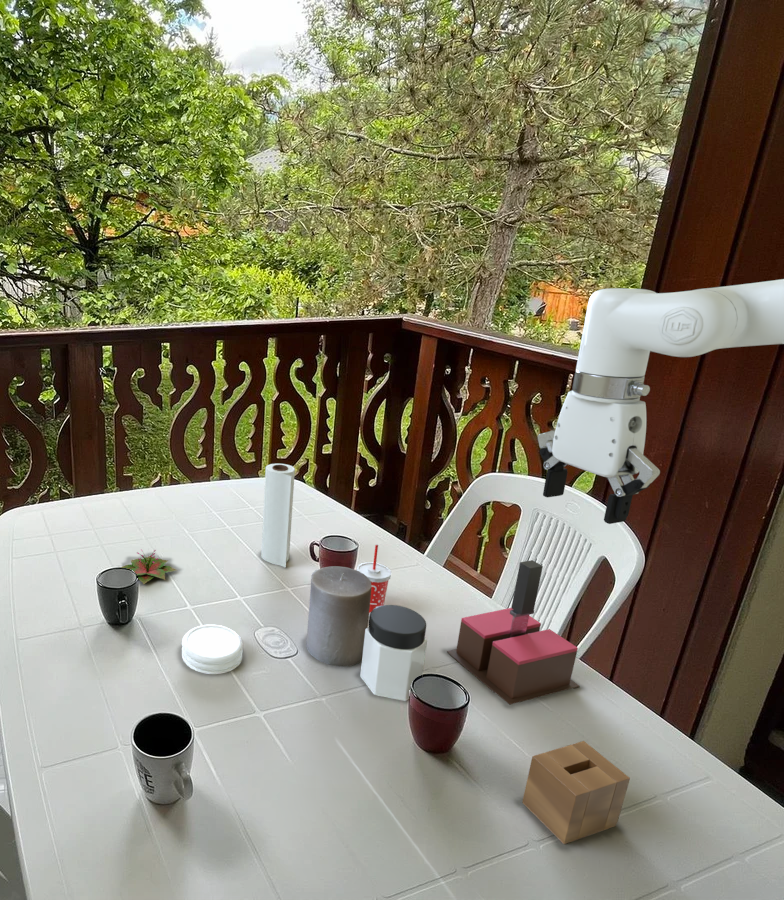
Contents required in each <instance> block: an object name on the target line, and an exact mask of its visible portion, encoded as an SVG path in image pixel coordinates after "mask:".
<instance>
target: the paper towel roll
mask: <svg viewBox="0 0 784 900" xmlns="http://www.w3.org/2000/svg"><path fill="white" fill-rule="evenodd" d="M295 469H296V468H295V467H294V466H293V465H290V464H286V463H270V464H267V465H266V466H265V471H264V472H265V476H264V495H263V511H262V512H263V513H262V532H261V534H262V535H261V551H260V552H261V553H260V554H261V556H260V557H261V559H262V560H263V561H265V562H267V563H270V564H271V565H272V564H273V565H276V566H280V567H283V568H287V562H288V561H289V560H290V548H291V536H292V535H291V534H292V518H293V504H294V488H295V473H296V470H295Z"/></svg>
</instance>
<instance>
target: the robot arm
mask: <svg viewBox="0 0 784 900" xmlns="http://www.w3.org/2000/svg"><path fill="white" fill-rule="evenodd" d="M583 324H584V325H583V329H582V334H581V339H580V346H579V350H578V356H577V360H576V361H577V362H576V366H575V371H574V372H575V373H574V377H573V382H572V389H571V390H570V391H568V392H567V395H566V397H565V399H564V402H563V404H562V407H561V409H560V413H559V416H558V419H557V422H556V425H555V429H553V430H550V431H546V432H542V433H538V435H537V442H538V446H539V448H540V449H539V455H540V457H541V458H542V460H543V469H544V470H546V475H545V480H544V487H543V492H542V496H543V497H545V498H553V497H561V496H563V495H564V493H565V487H566V483H567V478H568V472H569V471H568V469H567V468H566V466H572V467H575V468H577V469H581V470H583V471H586V472H588V473H592V474H594V475H597V476H600V477H604V478H606V479H607V480H608V482H609V484H610V486H611V488H612V491H613V493H610V494H608V497H607V502H606V507H605V511H604V517H603V521H604V523H605V524H608V525H611V524H617V523H623V522H624V523H625V522H626V521H627V518H628V517H629V514H630V510H631V505H632V500H633V497H634V496H635V495H639V493H640V492H641V491H644V490H647V489H648V488H649V487H650V485H651V484H652V483H653V482H654V481H655V480H656V479H657V478H658V477H659V476H660V474H661V470H660V469H659V468H658V467H657V466H656V465H655V464H654V463H653V462H652V461H651V460H650V459H649V458H647V456H646V455H644V452H645V451H644V450H645V446H646V445H645V444H646V436H647V434H646V433H647V406H646V405H647V404H646V402H645V401H643V400H640V399H641V397H645V396H647V395H649V393H650V391H651V387H650V386H649V385H648V384H645V383H644V382H645V375H646V371H647V367H648V363H649V358H650V355H651V354H650V353H657V354H660V355H666V356H670V357H677V358H692V357H693V358H694V357H696V356H697V357H698V356H701V355H704V354H707V353H709V352H712V351H715V350H719V349H729V348H730V349H731V348H741V347H742V348H743V347H756V346H770V345H771V346H772V345H784V278H781V279H775V280H766V281H759V282H758V281H757V282H751V283H743V284H742V283H741V284H733V285H726V286H725V285H724V286H715V287H707V288H697V289H692V290H684V291H675V292H659V293H658V292H656V291H653V290H650V289H646V288H628V287H627V288H624V287H623V288H621V287H615V288H613V287H612V288H611V287H609V288H608V287H607V288H601V289H598V290H596V291H594V292H592V294H591V296H590V297H589V299H588V303H587V307H586V313H585V318H584V323H583ZM637 474H638V475H637ZM634 475H637V477H636V478H634Z"/></svg>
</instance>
